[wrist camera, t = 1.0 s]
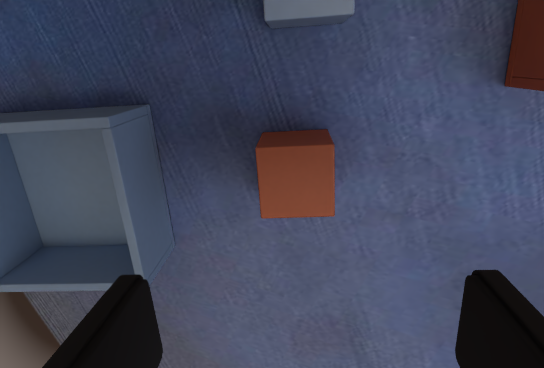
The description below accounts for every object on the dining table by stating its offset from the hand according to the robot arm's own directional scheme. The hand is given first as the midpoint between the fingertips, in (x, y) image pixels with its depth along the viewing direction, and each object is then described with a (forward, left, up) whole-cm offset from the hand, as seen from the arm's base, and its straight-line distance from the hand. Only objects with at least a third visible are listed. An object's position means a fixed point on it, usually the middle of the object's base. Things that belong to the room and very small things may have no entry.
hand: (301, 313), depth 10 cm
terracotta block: (0, 0, -15) cm, 15 cm away
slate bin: (+1, -16, -15) cm, 22 cm away
